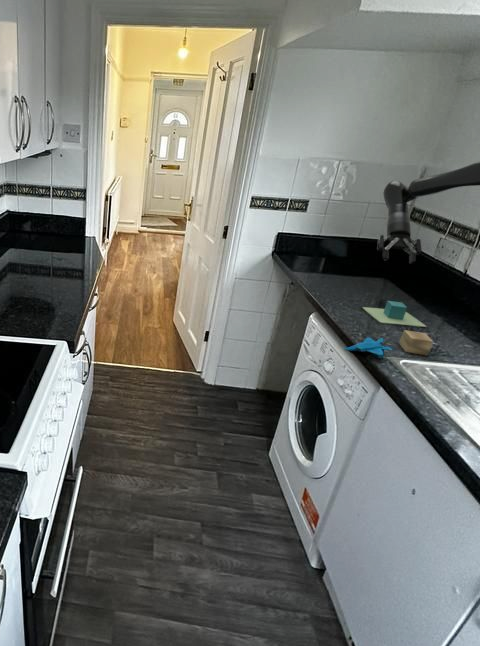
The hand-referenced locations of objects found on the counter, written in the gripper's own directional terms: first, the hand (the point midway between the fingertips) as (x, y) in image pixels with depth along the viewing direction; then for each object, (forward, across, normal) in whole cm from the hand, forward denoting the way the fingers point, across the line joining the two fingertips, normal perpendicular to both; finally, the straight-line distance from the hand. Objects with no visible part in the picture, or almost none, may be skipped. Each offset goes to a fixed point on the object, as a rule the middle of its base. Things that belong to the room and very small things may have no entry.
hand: (399, 261), depth 158 cm
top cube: (+21, 0, +5) cm, 21 cm away
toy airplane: (+46, -19, -19) cm, 53 cm away
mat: (+21, 0, +6) cm, 22 cm away
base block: (+40, -3, -14) cm, 42 cm away
